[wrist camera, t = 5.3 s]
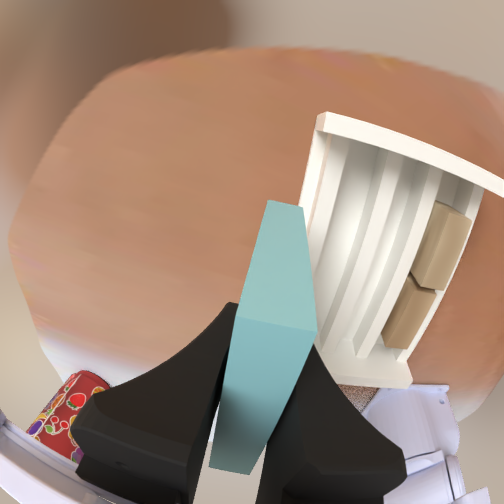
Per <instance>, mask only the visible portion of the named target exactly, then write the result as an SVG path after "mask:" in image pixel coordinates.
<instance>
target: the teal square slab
mask: <svg viewBox="0 0 504 504" xmlns="http://www.w3.org/2000/svg"><path fill="white" fill-rule="evenodd" d="M317 332H318V329H317V318H316V308H315V298H314V289H313V280H312V271H311V263H310V255H309V247H308V240H307V232H306V225H305V218H304V211H303V207H300V206H295V205H291V204H286V203H281V202H277V201H272V200H268V202H267V206H266V209H265V213H264V216H263V220H262V223H261V227H260V231H259V234H258V238H257V241H256V245H255V248H254V252H253V256H252V259H251V263H250V266H249V270H248V273H247V277H246V281H245V284H244V288H243V291H242V295H241V298H240V302H239V305H238V309H237V313H236V316H235V322H234V327H233V333H232V338H231V344H230V349H229V355H228V361H227V366H226V372H225V377H224V383H223V388H222V394H221V400H220V405H219V411H218V416H217V422H216V428H215V433H214V439H213V445H212V450H211V456H210V462H209V467H210V468H215V469H219V470H225V471H229V472H235V473H240V474H247V475H250V473H251V471H252V469H253V467H254V466H255V464H256V462H257V460H258V458H259V456H260V455H261V453H262V451H263V449H264V447H265V445H266V443H267V441H268V440H269V438H270V436H271V434H272V432H273V430H274V428H275V426H276V424H277V422H278V420H279V418H280V416H281V414H282V412H283V410H284V408H285V405H286V403H287V401H288V399H289V397H290V395H291V393H292V391H293V388H294V386H295V384H296V382H297V380H298V377H299V375H300V373H301V371H302V368H303V366H304V364H305V361H306V359H307V357H308V354H309V352H310V350H311V347H312V345H313V342H314V340H315V337H316V335H317Z"/></svg>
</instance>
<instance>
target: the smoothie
mask: <svg viewBox="0 0 504 504" xmlns="http://www.w3.org/2000/svg"><path fill="white" fill-rule="evenodd" d="M109 388H110V387H109V386H108V384H107V383H106V382H105V381H103V380H102V379H101V378H100V377H98V376H97V375H95V374H93V373H91V372H88V371H84V370H82V371H79V372H78V373H77V374H76V373H75V374H72V375H71V376H70V377H69V379H68V380H67V381H66V382H65V383H64V385H63V386H62V387H61V388H60V389H59V391H58V392H57V393H56V395H55V396H54V397H53V398H52V399H51V401H50V402H49V403H48V405H47V406H46V407H45V408H44V409H43V411H42V412H41V413H40V414H39V416H38V417H37V418H36V420H35V421H34V422H33V424H32V425H31V426H30V427H29V429H28V430H27V431H26V433H27V434H29V435H30V436H32V437H33V438H35V439H36V440H38V441H39V442H41V443H42V444H44V445H45V446H47V447H49V448H50V449H52V450H54V451H55V452H57V453H59V454H60V455H62V456H64V457H66V458H67V459H69V460H71V461H73V462H75V463H77V464H79V463H80V461H81V459H82V457H83V455H84V453H83V452H82V450H81V449H80V447H79V446H78V444H77V443H76V442H75V440H74V439H73V437H72V435H71V432H70V426H71V424H72V423H73V421H74V419H75V418H76V416H77V414H78V413H79V411H80V409H81V408H82V407H83V405H84V404H85V403H86V402H87V401H88V399H89V398H90V397H91V396H92V394H94V393H98V392H101V391H104V390H106V389H109Z"/></svg>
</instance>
